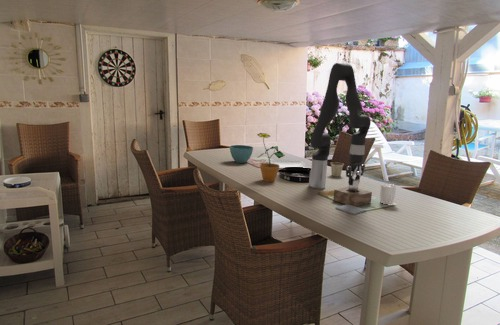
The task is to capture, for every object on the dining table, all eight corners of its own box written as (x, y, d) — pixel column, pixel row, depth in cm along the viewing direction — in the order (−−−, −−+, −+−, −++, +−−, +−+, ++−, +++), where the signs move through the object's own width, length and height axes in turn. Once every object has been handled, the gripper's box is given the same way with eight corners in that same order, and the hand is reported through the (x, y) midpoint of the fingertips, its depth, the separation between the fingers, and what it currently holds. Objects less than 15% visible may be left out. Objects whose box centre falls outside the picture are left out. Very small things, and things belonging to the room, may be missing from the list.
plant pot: (256, 162, 303) (257, 146, 301) (244, 165, 288) (244, 149, 286) (237, 159, 313) (238, 144, 310) (224, 162, 297) (225, 146, 295)
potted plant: (252, 182, 237) (254, 134, 232) (258, 176, 255) (260, 131, 250) (280, 185, 233) (283, 136, 228) (284, 178, 251) (287, 133, 246)
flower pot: (341, 174, 272) (342, 162, 270) (344, 177, 263) (345, 165, 261) (327, 173, 271) (328, 162, 270) (331, 176, 262) (332, 164, 261)
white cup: (384, 205, 200) (386, 187, 198) (375, 201, 207) (377, 183, 206) (397, 205, 202) (399, 187, 200) (388, 200, 210) (390, 183, 208)
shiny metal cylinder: (346, 192, 205) (347, 178, 204) (351, 191, 208) (353, 177, 207) (353, 195, 201) (355, 180, 200) (359, 193, 204) (361, 179, 203)
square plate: (267, 164, 298) (267, 159, 297) (301, 165, 300) (301, 160, 299) (271, 172, 271) (271, 166, 270) (309, 173, 273) (309, 167, 272)
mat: (335, 208, 192) (335, 207, 192) (347, 205, 198) (348, 204, 198) (353, 214, 183) (353, 213, 183) (365, 211, 189) (366, 209, 189)
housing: (333, 200, 206) (334, 189, 205) (349, 196, 215) (350, 186, 214) (354, 207, 196) (355, 195, 195) (370, 202, 204) (371, 192, 203)
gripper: (359, 150, 208) (356, 181, 211) (342, 152, 199) (339, 184, 202) (371, 153, 202) (367, 184, 205) (354, 155, 193) (351, 187, 197)
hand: (353, 184), depth 204 cm, fingers closed on shiny metal cylinder, 5 cm apart
